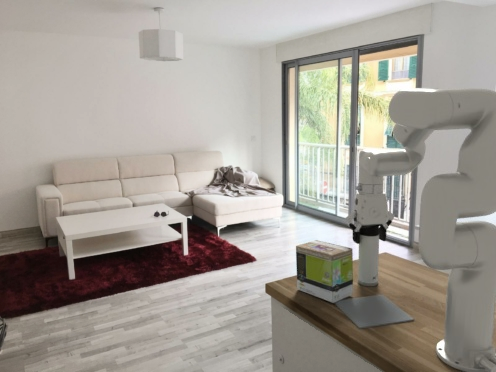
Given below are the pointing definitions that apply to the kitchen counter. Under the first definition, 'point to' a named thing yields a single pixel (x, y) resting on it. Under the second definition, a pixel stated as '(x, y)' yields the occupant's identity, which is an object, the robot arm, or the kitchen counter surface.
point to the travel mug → (368, 255)
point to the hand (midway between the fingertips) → (369, 241)
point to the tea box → (325, 270)
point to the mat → (372, 311)
